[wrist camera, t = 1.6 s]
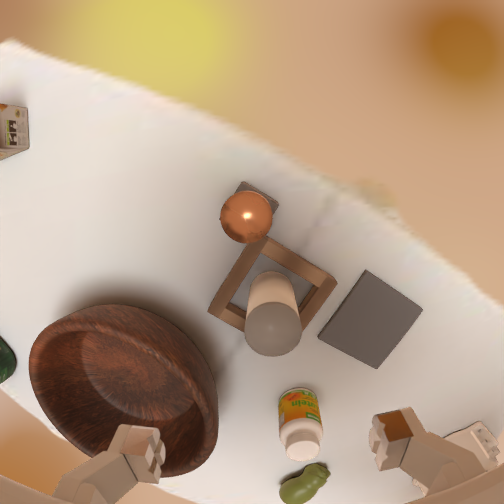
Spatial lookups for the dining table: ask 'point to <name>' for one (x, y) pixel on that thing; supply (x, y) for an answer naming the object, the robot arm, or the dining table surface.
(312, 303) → the square wooden frame
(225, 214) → the plunger
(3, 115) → the coffee box
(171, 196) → the dining table surface
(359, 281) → the pad
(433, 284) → the dining table surface
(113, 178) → the dining table surface
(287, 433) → the supplement bottle
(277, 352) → the cylinder
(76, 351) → the wooden bowl
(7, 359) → the coffee jar
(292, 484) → the pear
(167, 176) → the dining table surface
